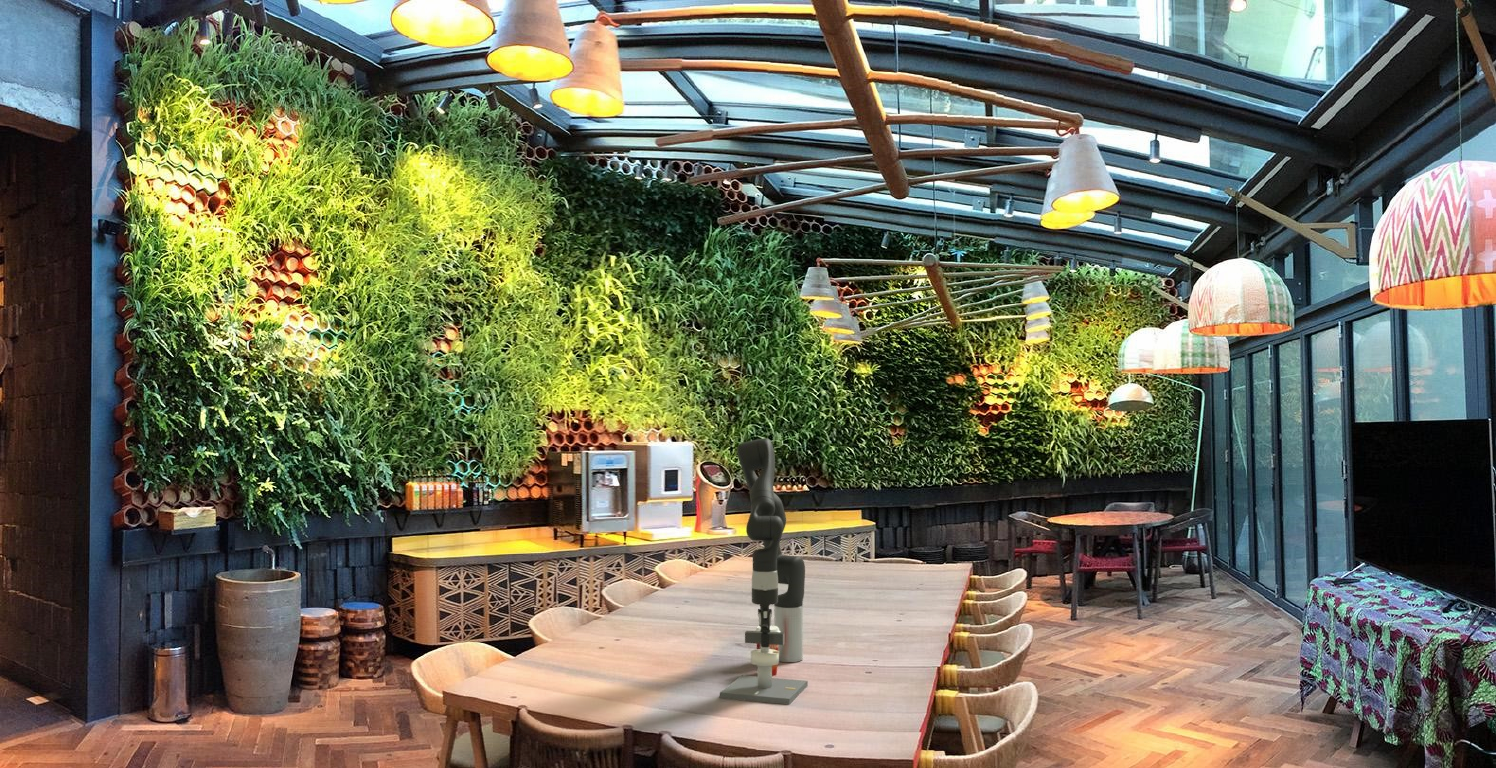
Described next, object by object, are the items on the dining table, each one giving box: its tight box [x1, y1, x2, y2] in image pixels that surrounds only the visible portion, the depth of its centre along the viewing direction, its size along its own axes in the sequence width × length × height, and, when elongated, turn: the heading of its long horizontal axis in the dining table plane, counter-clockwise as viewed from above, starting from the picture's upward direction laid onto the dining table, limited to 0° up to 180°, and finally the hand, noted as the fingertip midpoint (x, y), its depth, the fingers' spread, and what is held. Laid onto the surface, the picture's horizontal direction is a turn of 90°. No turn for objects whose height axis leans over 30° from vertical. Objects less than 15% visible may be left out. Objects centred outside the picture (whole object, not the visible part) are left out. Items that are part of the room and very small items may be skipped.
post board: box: [719, 666, 809, 705], centre depth 281 cm, size 20×20×8 cm
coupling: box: [744, 630, 785, 667], centre depth 281 cm, size 11×8×8 cm
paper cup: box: [755, 624, 781, 677], centre depth 301 cm, size 8×8×14 cm
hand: (764, 643), depth 281 cm, fingers open, 8 cm apart
